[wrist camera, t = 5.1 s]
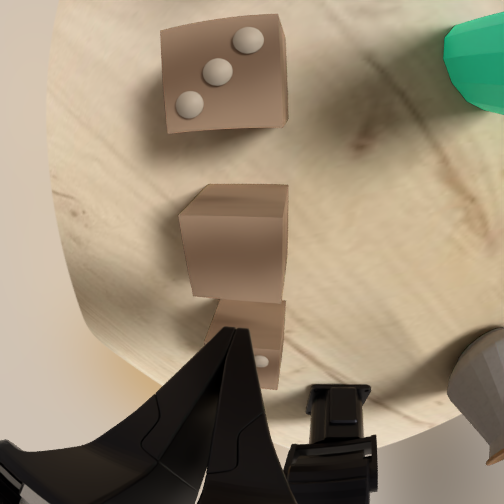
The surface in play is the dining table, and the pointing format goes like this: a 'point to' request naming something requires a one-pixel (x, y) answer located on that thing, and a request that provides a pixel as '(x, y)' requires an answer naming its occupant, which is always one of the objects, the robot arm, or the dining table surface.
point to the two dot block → (256, 333)
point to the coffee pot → (482, 389)
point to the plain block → (237, 241)
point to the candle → (478, 61)
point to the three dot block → (225, 74)
